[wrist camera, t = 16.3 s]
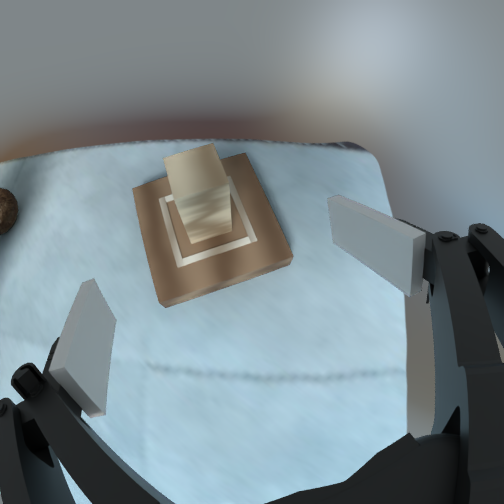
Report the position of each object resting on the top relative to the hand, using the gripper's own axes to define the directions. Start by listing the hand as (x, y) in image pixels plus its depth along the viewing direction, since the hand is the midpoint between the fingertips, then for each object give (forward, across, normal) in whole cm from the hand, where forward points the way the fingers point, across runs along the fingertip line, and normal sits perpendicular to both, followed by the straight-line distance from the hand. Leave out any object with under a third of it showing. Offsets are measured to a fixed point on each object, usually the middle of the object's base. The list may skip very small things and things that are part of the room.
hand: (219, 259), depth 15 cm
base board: (+23, +1, -6) cm, 23 cm away
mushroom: (+34, -32, +5) cm, 48 cm away
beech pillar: (+20, +1, -4) cm, 21 cm away
